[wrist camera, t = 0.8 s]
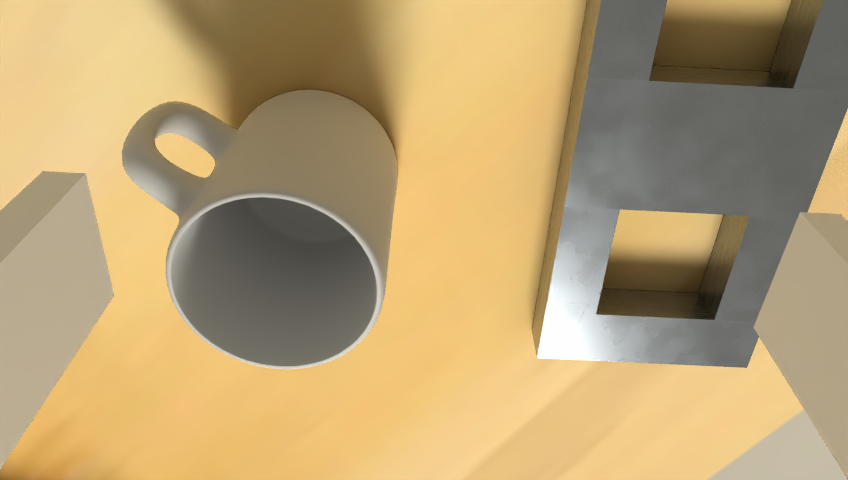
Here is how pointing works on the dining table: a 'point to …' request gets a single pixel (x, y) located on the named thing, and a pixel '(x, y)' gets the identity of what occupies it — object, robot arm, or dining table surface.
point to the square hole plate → (684, 181)
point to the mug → (275, 224)
